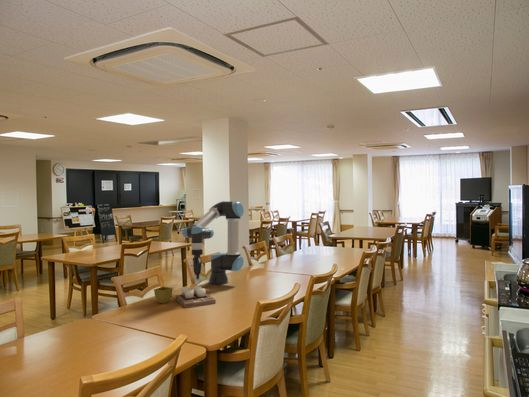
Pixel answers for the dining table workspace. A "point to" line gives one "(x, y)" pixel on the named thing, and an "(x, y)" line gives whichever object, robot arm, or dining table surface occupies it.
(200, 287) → the white egg
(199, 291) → the white egg
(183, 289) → the white egg
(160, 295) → the flower pot
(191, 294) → the cream rounded oval
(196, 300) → the egg tray
